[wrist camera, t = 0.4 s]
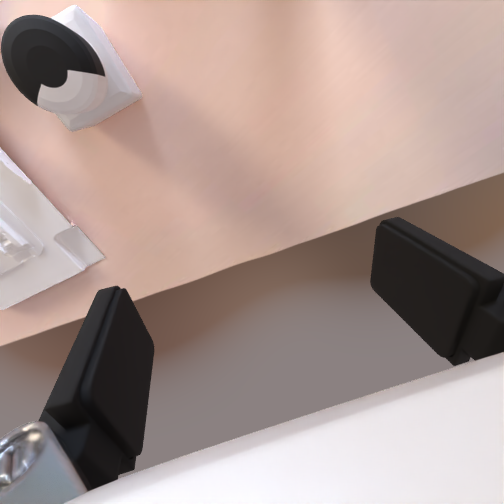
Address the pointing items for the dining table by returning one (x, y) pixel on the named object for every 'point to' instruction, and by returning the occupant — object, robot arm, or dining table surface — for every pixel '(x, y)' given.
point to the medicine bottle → (67, 67)
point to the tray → (35, 239)
